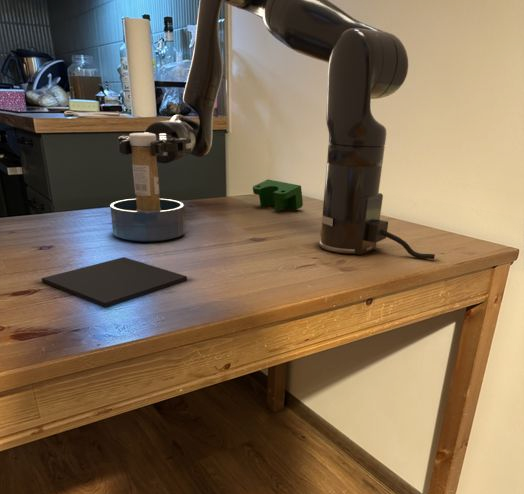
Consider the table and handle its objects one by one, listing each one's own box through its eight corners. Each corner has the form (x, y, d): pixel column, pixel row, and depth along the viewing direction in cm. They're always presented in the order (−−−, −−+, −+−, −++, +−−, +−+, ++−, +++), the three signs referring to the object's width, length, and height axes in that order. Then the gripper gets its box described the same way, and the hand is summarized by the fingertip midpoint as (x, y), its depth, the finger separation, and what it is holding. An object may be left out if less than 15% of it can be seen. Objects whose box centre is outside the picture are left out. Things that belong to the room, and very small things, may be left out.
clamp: (261, 224, 123) (246, 189, 121) (278, 215, 126) (263, 181, 124) (291, 213, 114) (275, 175, 111) (308, 204, 117) (293, 167, 114)
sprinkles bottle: (166, 212, 92) (161, 133, 86) (146, 216, 89) (139, 134, 83) (150, 208, 95) (144, 132, 89) (130, 212, 92) (123, 132, 86)
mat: (187, 280, 71) (187, 276, 71) (105, 307, 61) (105, 303, 61) (124, 260, 79) (123, 257, 78) (42, 282, 68) (41, 278, 68)
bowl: (199, 234, 95) (198, 205, 93) (146, 247, 86) (143, 215, 83) (152, 223, 102) (150, 195, 100) (98, 234, 93) (95, 204, 90)
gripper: (131, 119, 99) (95, 123, 84) (202, 121, 97) (177, 125, 82) (135, 159, 102) (100, 170, 87) (203, 162, 101) (180, 173, 85)
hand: (138, 148), depth 85 cm, fingers closed on sprinkles bottle, 4 cm apart
